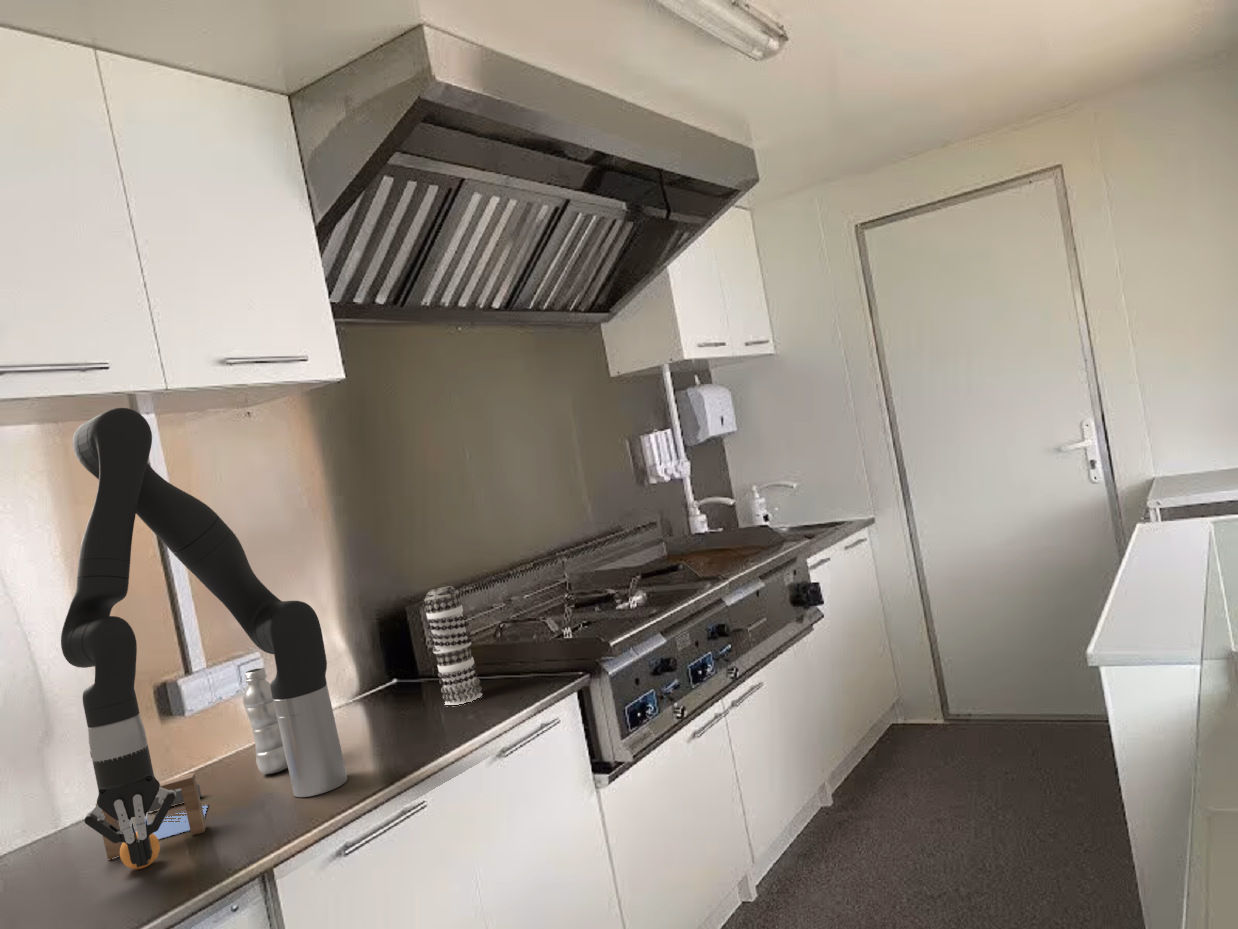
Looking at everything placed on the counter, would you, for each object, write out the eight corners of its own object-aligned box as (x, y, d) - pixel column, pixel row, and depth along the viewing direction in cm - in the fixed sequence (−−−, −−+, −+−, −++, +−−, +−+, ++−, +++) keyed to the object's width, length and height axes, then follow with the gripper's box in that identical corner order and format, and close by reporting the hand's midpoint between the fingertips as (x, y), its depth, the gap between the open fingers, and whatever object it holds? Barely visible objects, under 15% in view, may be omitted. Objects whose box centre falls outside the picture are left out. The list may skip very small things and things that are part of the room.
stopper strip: (149, 811, 182) (146, 797, 182) (201, 796, 184) (198, 783, 184) (147, 814, 180) (144, 800, 180) (200, 799, 183) (197, 785, 183)
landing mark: (130, 828, 174) (129, 826, 174) (208, 805, 177) (208, 804, 177) (116, 852, 161) (116, 851, 161) (201, 827, 165) (201, 826, 165)
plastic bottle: (298, 762, 194) (276, 662, 193) (288, 774, 187) (265, 670, 187) (266, 769, 194) (244, 669, 193) (254, 781, 187) (231, 678, 186)
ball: (128, 883, 149) (128, 859, 154) (165, 866, 151) (164, 843, 156) (113, 856, 147) (114, 833, 152) (152, 839, 149) (151, 817, 153)
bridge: (111, 854, 161) (99, 799, 161) (206, 826, 165) (194, 772, 165) (108, 860, 158) (95, 804, 158) (204, 832, 162) (192, 777, 162)
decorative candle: (433, 707, 217) (409, 595, 216) (464, 693, 224) (441, 585, 223) (462, 707, 211) (437, 592, 210) (492, 693, 218) (468, 582, 218)
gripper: (170, 733, 154) (192, 843, 154) (75, 757, 149) (98, 871, 149) (165, 742, 147) (188, 857, 147) (66, 768, 142) (89, 887, 142)
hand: (142, 864), depth 148 cm, fingers closed
